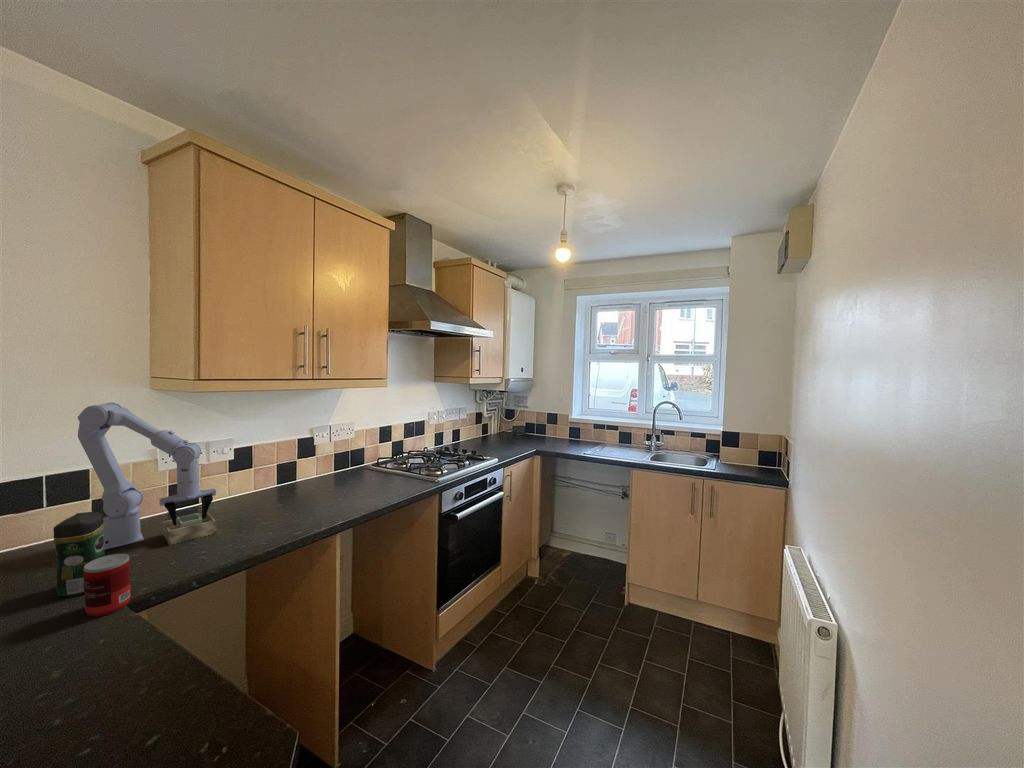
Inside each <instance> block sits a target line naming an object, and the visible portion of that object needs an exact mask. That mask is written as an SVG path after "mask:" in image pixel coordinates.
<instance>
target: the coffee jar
mask: <svg viewBox="0 0 1024 768" xmlns="http://www.w3.org/2000/svg"><path fill="white" fill-rule="evenodd" d="M103 518H104V517H103V514H101V513H100V512H98V511H86V512H85V511H84V512H77V513H75V514H74V515H72V516H70V517H68V518H66V519H64V520H62V521H60V522H59V523H57V524H56V525H55V526H54V527H53V542H54V546H55V552H56V553H55V554H56V557H55V558H56V561H55V562H56V595H57V596H59V597H75V596H79V595H81V594H84V572H83V569H84V566H85V565H86V564H87V563H89V562H91V561H93V560H95V559H98V558H101V557H104V556H106V551H105V550H104V538H103V531H104V521H103Z"/></svg>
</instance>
